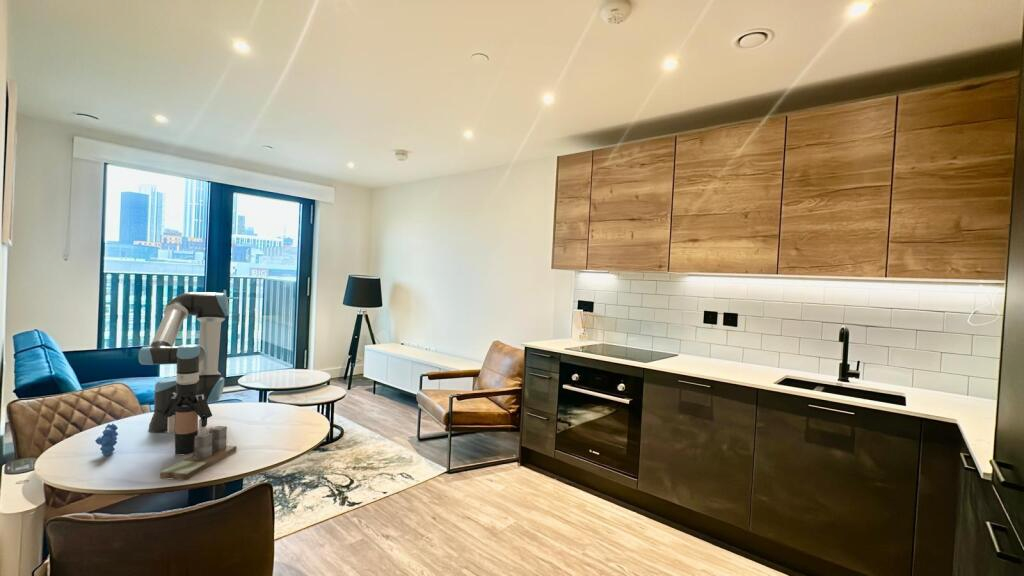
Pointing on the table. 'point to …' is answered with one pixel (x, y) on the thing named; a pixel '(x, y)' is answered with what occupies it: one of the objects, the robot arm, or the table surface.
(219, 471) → the table surface
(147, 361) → the robot arm
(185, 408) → the travel mug
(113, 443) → the grapes
